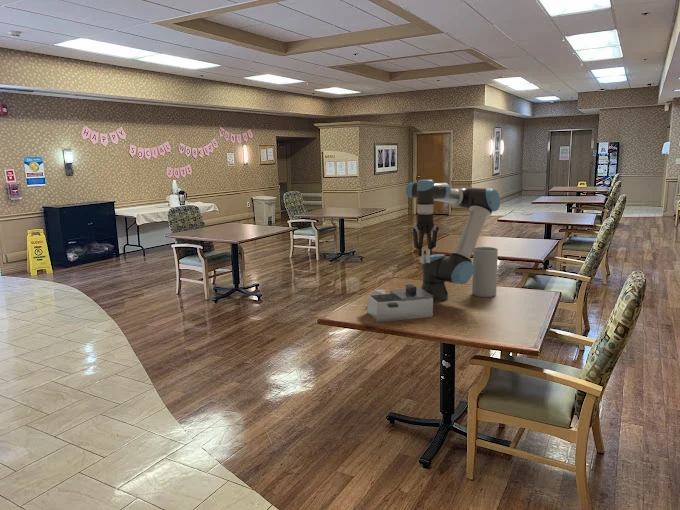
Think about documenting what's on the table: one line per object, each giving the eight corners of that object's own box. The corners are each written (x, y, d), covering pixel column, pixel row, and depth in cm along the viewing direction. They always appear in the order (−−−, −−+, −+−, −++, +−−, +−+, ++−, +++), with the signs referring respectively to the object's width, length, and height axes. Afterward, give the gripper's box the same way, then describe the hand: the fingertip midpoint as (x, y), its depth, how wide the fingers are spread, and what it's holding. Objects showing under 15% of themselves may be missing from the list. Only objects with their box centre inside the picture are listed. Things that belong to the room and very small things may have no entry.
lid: (419, 289, 257) (419, 280, 256) (432, 297, 242) (433, 288, 241) (389, 292, 253) (389, 283, 252) (401, 300, 238) (401, 291, 237)
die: (382, 310, 258) (392, 293, 259) (367, 301, 258) (376, 284, 260) (381, 311, 266) (390, 294, 268) (366, 302, 267) (375, 286, 268)
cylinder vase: (470, 291, 287) (472, 246, 282) (494, 291, 285) (495, 246, 280) (473, 297, 275) (474, 251, 270) (497, 297, 273) (499, 251, 268)
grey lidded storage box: (418, 306, 260) (418, 289, 258) (434, 317, 242) (434, 299, 240) (366, 312, 253) (365, 294, 252) (378, 323, 235) (378, 304, 234)
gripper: (437, 211, 247) (436, 260, 252) (406, 213, 243) (406, 262, 248) (444, 213, 240) (443, 263, 244) (412, 214, 236) (412, 265, 241)
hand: (424, 262), depth 246 cm, fingers open, 3 cm apart
